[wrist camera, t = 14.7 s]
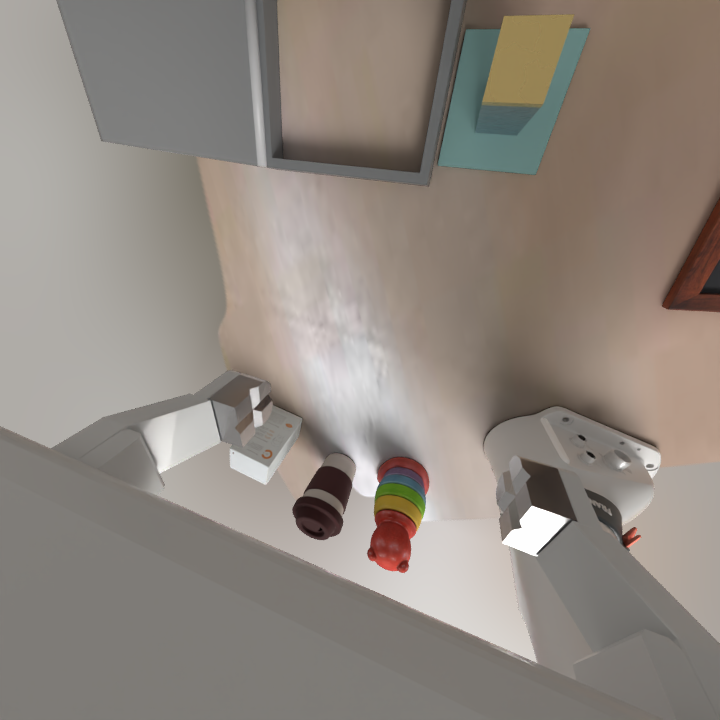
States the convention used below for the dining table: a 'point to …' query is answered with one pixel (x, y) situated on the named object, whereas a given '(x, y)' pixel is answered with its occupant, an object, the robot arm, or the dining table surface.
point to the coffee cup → (326, 498)
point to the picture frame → (700, 272)
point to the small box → (267, 446)
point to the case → (208, 80)
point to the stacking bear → (397, 512)
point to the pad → (467, 99)
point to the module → (521, 71)
